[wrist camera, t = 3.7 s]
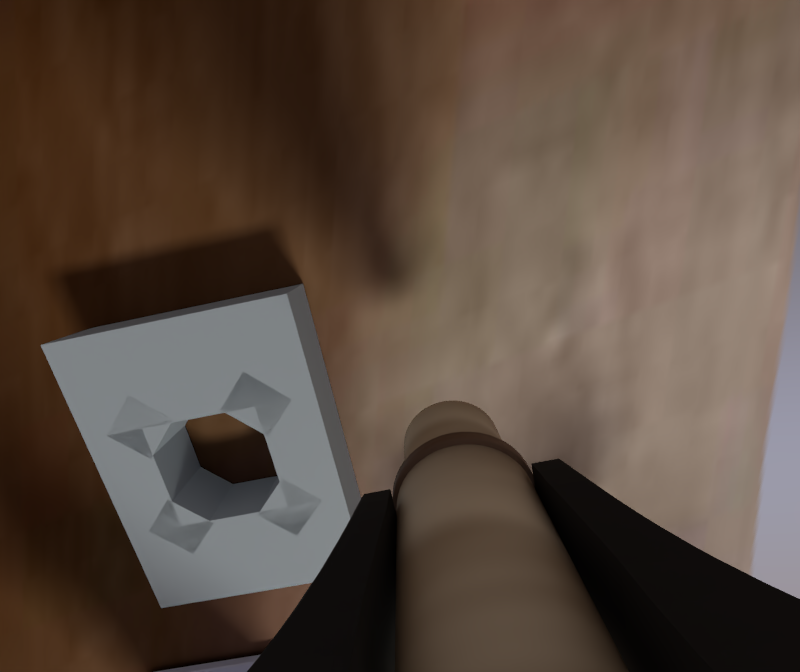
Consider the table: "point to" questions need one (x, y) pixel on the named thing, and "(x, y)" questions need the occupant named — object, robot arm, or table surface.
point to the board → (174, 454)
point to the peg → (484, 560)
